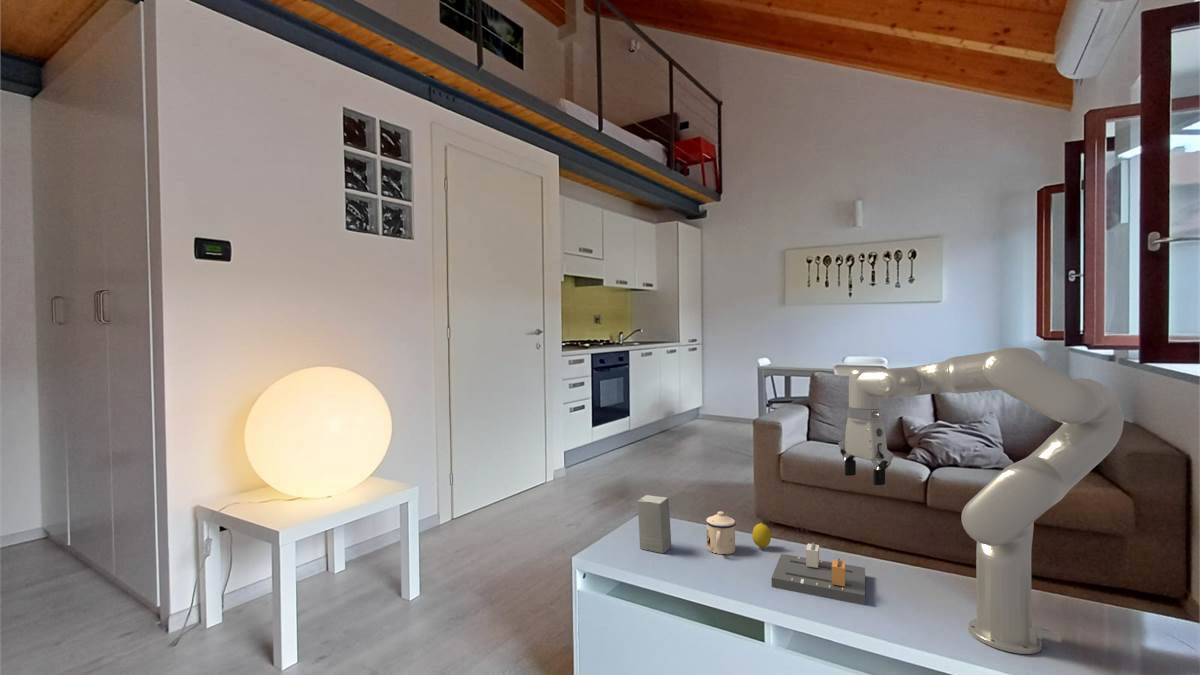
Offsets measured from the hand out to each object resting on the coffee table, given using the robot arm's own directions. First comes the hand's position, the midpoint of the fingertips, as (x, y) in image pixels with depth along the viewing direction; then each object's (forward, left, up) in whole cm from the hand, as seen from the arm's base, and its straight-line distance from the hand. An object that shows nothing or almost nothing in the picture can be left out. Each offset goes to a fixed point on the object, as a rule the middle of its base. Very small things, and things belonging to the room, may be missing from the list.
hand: (864, 479), depth 139 cm
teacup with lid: (+40, -8, -29) cm, 50 cm away
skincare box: (+59, -1, -29) cm, 66 cm away
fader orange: (+6, +6, -26) cm, 27 cm away
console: (+11, +1, -28) cm, 30 cm away
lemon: (+29, -16, -29) cm, 44 cm away
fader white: (+13, -3, -25) cm, 29 cm away
